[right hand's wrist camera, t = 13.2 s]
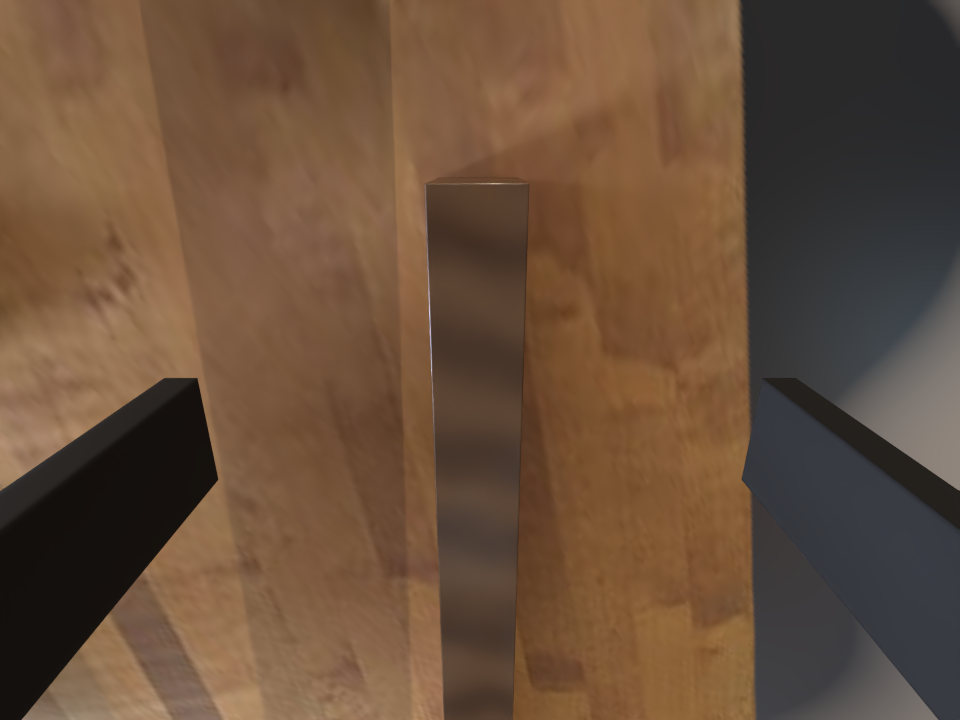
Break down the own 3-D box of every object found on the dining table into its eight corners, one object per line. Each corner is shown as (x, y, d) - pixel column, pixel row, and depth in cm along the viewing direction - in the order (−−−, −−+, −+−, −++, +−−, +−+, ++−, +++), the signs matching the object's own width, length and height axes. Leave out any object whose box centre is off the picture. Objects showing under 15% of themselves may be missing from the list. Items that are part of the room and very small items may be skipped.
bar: (437, 177, 33) (424, 183, 25) (517, 177, 33) (529, 183, 25) (457, 917, 63) (454, 1022, 55) (500, 916, 63) (503, 1022, 55)
